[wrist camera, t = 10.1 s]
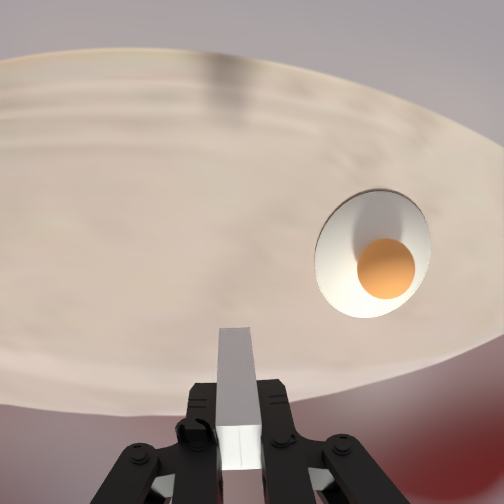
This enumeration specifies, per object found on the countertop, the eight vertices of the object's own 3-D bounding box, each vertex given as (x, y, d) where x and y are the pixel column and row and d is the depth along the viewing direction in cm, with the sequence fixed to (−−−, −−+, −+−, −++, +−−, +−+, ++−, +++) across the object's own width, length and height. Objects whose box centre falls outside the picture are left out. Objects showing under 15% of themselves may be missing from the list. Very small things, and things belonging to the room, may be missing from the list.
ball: (358, 230, 30) (359, 245, 25) (413, 234, 28) (424, 250, 23) (355, 283, 31) (353, 307, 26) (406, 287, 30) (414, 311, 25)
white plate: (316, 189, 28) (316, 190, 27) (435, 193, 28) (436, 193, 28) (310, 322, 31) (311, 323, 31) (420, 310, 32) (420, 311, 32)
